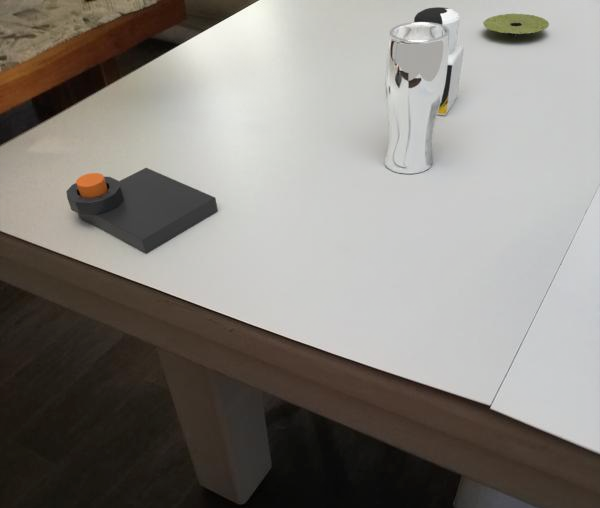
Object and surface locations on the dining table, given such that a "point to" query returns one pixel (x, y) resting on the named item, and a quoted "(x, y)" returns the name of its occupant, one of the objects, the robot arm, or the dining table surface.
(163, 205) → the dark grey button base
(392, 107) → the beer glass
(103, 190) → the tare button
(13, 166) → the dining table surface
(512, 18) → the green disc
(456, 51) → the medicine bottle
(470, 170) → the dining table surface
